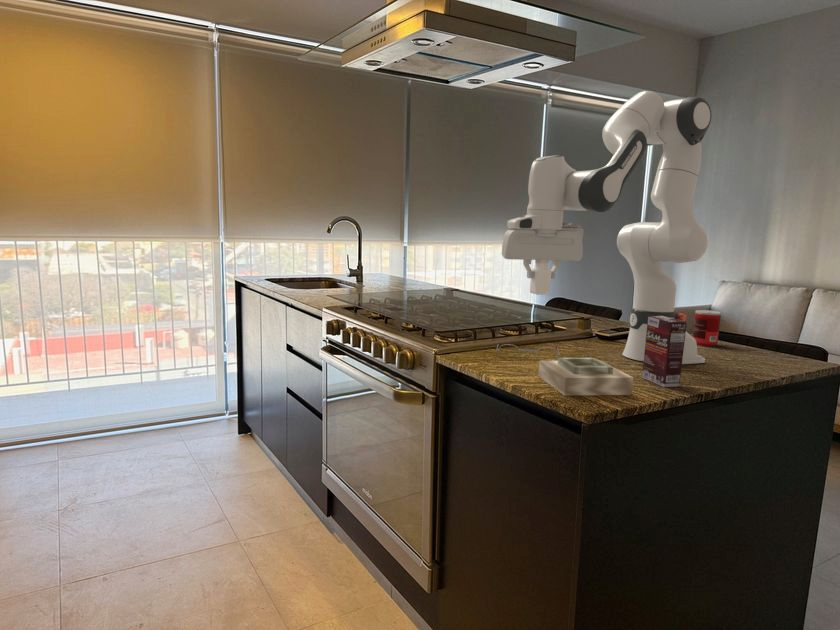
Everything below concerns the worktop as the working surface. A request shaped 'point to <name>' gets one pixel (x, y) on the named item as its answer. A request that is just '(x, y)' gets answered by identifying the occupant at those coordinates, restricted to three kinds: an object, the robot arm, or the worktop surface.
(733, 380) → the worktop surface
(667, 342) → the supplement box
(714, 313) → the canned food
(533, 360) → the worktop surface
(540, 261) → the pepper shaker
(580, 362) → the block
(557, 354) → the eyeglasses
